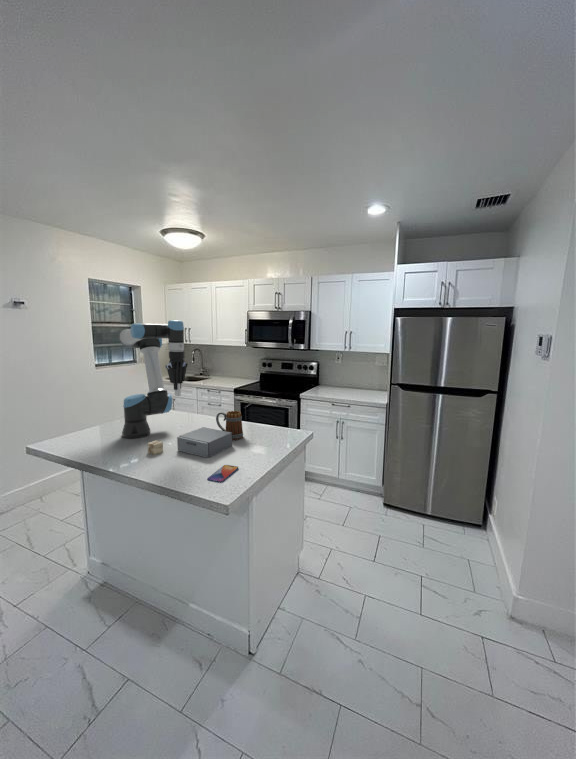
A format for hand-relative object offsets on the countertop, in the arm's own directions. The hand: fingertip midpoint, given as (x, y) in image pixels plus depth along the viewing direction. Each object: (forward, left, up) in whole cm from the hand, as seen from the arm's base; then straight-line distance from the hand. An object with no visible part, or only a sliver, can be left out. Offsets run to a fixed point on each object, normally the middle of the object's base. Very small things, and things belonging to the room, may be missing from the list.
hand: (177, 395), depth 168 cm
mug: (+16, +23, -27) cm, 39 cm away
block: (-2, -14, -27) cm, 30 cm away
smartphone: (+44, -17, -28) cm, 54 cm away
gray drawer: (+16, +1, -27) cm, 31 cm away
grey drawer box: (+16, +3, -27) cm, 31 cm away
